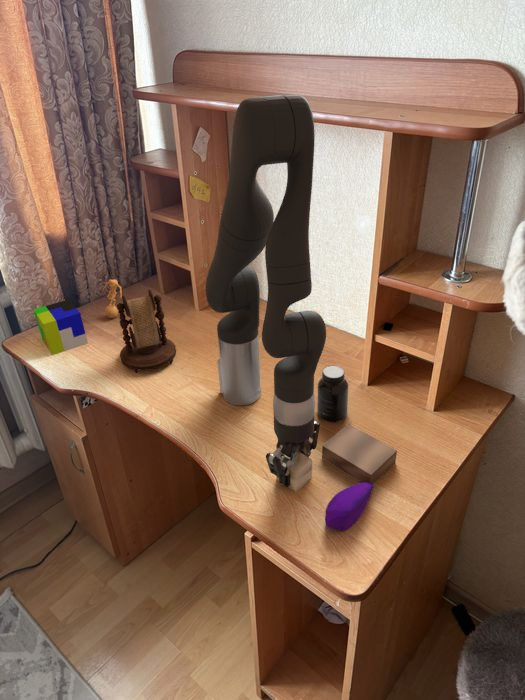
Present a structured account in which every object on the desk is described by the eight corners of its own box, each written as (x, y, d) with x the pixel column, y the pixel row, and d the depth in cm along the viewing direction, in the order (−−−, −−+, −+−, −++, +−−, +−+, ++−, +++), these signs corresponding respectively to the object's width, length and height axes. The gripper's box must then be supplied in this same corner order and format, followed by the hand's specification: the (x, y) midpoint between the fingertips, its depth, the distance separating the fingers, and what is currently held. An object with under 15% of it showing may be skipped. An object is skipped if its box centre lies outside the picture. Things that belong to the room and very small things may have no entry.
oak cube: (276, 479, 108) (276, 461, 105) (292, 465, 111) (292, 447, 108) (295, 492, 105) (296, 473, 102) (311, 477, 108) (312, 459, 105)
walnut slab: (321, 459, 113) (322, 445, 110) (347, 437, 118) (348, 423, 116) (369, 489, 106) (371, 474, 103) (395, 464, 111) (397, 450, 109)
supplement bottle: (327, 400, 128) (329, 358, 122) (352, 411, 124) (355, 369, 118) (311, 415, 124) (312, 373, 117) (336, 427, 120) (338, 384, 114)
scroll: (128, 380, 137) (113, 312, 126) (116, 352, 149) (102, 287, 138) (183, 365, 142) (174, 298, 131) (168, 339, 154) (158, 275, 143)
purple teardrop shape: (385, 479, 102) (339, 523, 92) (381, 498, 104) (336, 543, 94) (363, 467, 105) (317, 509, 95) (360, 486, 107) (314, 529, 97)
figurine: (98, 316, 166) (90, 281, 159) (113, 308, 170) (106, 273, 163) (117, 323, 162) (109, 287, 155) (132, 315, 166) (125, 280, 159)
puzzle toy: (88, 343, 153) (80, 312, 148) (52, 355, 149) (43, 324, 143) (76, 328, 160) (68, 299, 155) (42, 339, 156) (33, 309, 150)
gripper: (302, 384, 105) (301, 448, 114) (252, 422, 96) (255, 488, 105) (334, 399, 100) (330, 465, 110) (284, 440, 92) (285, 507, 101)
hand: (294, 476), depth 108 cm, fingers closed on oak cube, 5 cm apart
